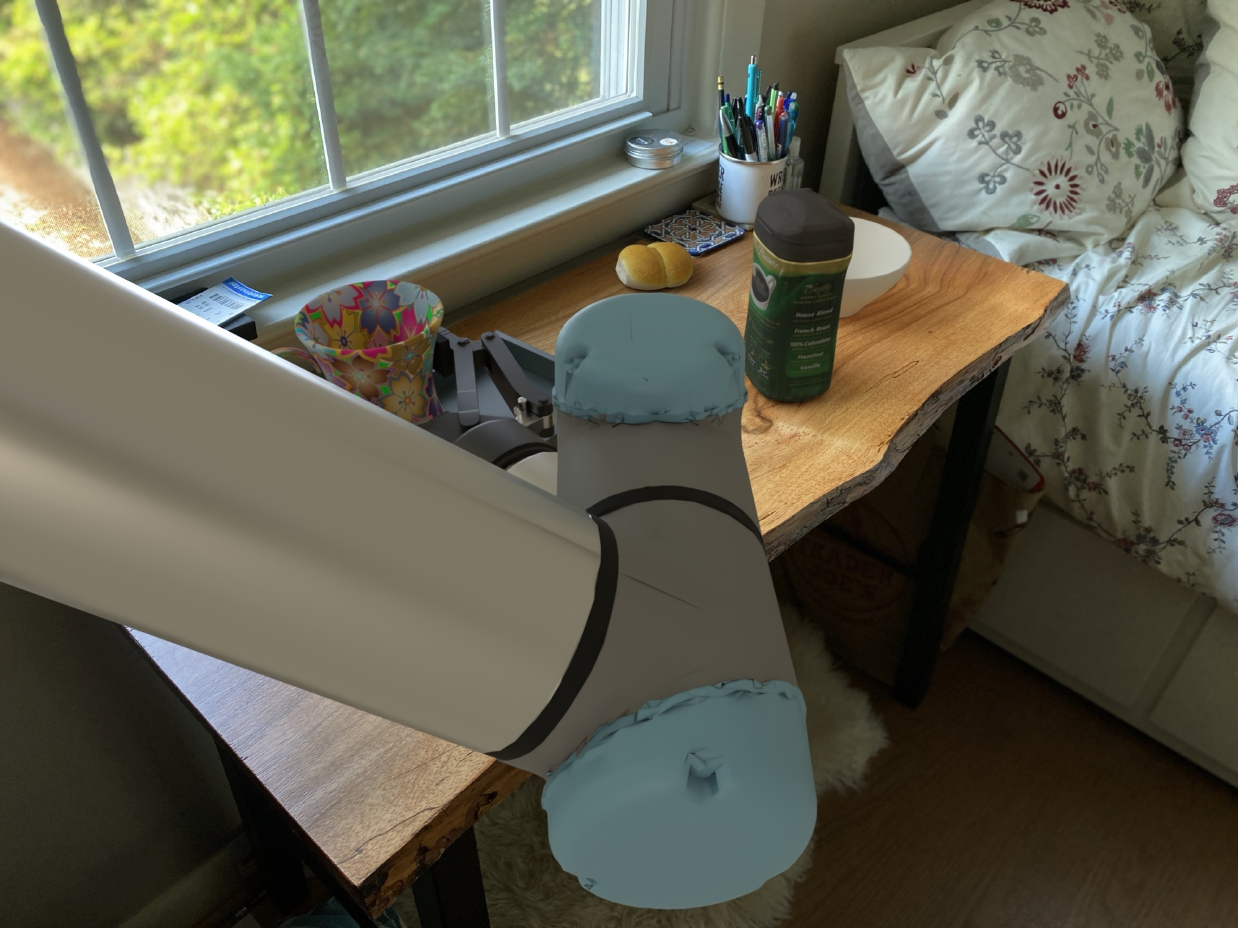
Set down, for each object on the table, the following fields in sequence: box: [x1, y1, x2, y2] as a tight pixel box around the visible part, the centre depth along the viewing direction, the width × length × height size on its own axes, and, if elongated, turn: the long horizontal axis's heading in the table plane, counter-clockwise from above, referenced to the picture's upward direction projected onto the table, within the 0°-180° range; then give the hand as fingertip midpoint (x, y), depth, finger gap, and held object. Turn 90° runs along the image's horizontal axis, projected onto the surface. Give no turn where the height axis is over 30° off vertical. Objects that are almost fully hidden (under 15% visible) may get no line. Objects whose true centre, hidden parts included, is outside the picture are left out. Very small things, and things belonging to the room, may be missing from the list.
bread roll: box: [615, 241, 694, 291], centre depth 109 cm, size 8×9×4 cm
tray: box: [433, 330, 557, 449], centre depth 86 cm, size 18×17×3 cm
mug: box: [269, 279, 445, 425], centre depth 62 cm, size 12×9×11 cm
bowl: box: [839, 216, 913, 319], centre depth 103 cm, size 16×16×7 cm
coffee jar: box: [743, 187, 855, 403], centre depth 87 cm, size 10×8×19 cm
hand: (323, 351), depth 63 cm, fingers closed on mug, 11 cm apart
